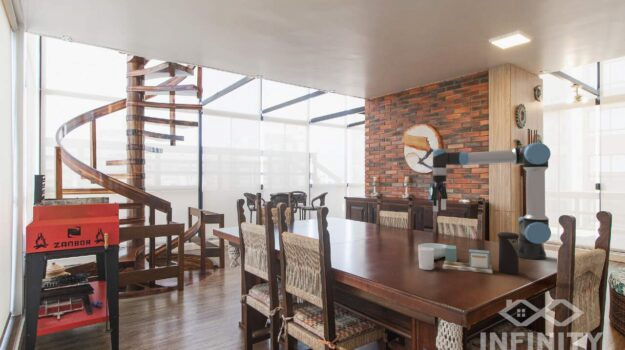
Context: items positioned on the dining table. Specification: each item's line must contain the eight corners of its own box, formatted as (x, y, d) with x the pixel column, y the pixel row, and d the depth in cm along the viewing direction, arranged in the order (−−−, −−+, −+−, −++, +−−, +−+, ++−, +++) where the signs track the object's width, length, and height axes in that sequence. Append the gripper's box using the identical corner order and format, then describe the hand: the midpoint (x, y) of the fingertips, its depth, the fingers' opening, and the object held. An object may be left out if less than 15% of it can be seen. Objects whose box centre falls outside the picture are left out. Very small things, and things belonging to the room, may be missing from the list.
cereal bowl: (444, 254, 208) (444, 242, 208) (453, 261, 192) (453, 248, 192) (415, 254, 210) (415, 242, 210) (421, 260, 193) (421, 248, 193)
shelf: (491, 270, 173) (491, 265, 173) (492, 275, 164) (492, 270, 164) (444, 265, 182) (444, 260, 182) (442, 270, 173) (442, 265, 173)
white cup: (434, 267, 180) (434, 247, 180) (434, 270, 173) (434, 250, 173) (418, 265, 183) (418, 246, 183) (417, 269, 175) (417, 249, 175)
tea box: (456, 262, 190) (456, 245, 190) (455, 266, 181) (455, 249, 181) (446, 261, 192) (446, 245, 192) (445, 265, 184) (445, 248, 184)
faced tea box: (469, 267, 175) (469, 249, 175) (489, 269, 171) (489, 250, 171) (469, 269, 170) (468, 251, 170) (489, 271, 167) (489, 253, 167)
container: (519, 278, 159) (518, 234, 160) (497, 275, 164) (496, 232, 164) (519, 273, 167) (519, 231, 167) (498, 271, 172) (498, 230, 172)
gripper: (440, 175, 219) (440, 208, 219) (425, 175, 200) (425, 211, 200) (452, 175, 215) (452, 209, 215) (438, 174, 195) (438, 212, 195)
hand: (439, 210), depth 207 cm, fingers open, 13 cm apart
